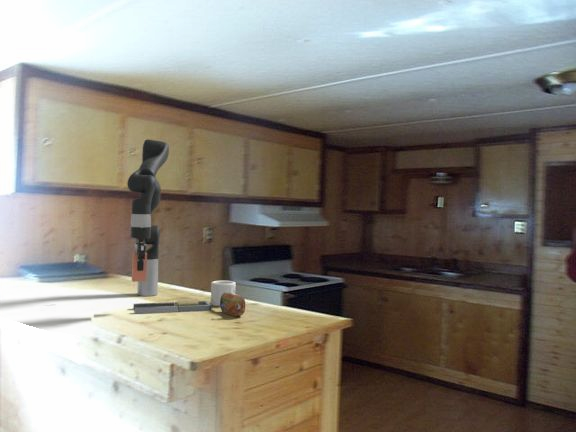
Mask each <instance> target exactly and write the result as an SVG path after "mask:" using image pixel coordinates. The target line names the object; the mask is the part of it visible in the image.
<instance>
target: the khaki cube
mask: <svg viewBox="0 0 576 432" xmlns="http://www.w3.org/2000/svg"><path fill="white" fill-rule="evenodd" d="M186 299H187V298H186ZM187 300H188V301H189V304H188V306H196V305H198V301H199V300H198V299H197V298H188V299H187Z"/></svg>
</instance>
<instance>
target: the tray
mask: <svg viewBox="0 0 576 432" xmlns="http://www.w3.org/2000/svg"><path fill="white" fill-rule="evenodd" d="M174 303H175V306H177V301H175V302H174ZM212 306H213V305H211V302H209V301H207V300H201V301H200V300H198V305H196V306H178V312H177V313H181V312H182V313H184V312H205V311H212V310H213V309H212Z"/></svg>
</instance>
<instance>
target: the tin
mask: <svg viewBox="0 0 576 432" xmlns="http://www.w3.org/2000/svg"><path fill="white" fill-rule="evenodd" d="M220 310H221V312H222V313H223V314H225V315H228V316H232V317H241V316H243V315H244V314H245V311H246V300H245V298H244V297H243V295H241V294H236V293H235V294H232V293H224V294H223V295H222V296H221V299H220Z"/></svg>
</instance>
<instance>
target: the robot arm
mask: <svg viewBox="0 0 576 432" xmlns="http://www.w3.org/2000/svg"><path fill="white" fill-rule="evenodd" d="M169 154H170V147H169V144H168V143H167V142H165V141H161V140H155V139H149V138H147V139H145V140H144V141H143V144H142V155H141V156H142V157H141V158H142V159H141V160H142V162H141V164H140V166H139V168H138V169H137V170H135V171H134V172H132V174H130V175H129V177H128V179H127V182H126V183H127V188H128V190H129V191H130V192H131V193H135V194H137V193H139V198H135V199H133V200H132V202H131V217H130V238H131V239H135V241H136V242H134V252H136V255H137V261H138V262H137V270H138V271H143V266H144V260H145V254H146V253H147V269H146V281H144V282H137V296H141V297H151V296H156V295H158V285H159V254H160V253H159V251H160V250H159V249H160V248H159V247H160V238H161V237H160V236H161V232H160V231H161V229H160V227H159V225H155V224H154V225H152V216H151V214H152V213H153V212H154V211H155V209H157V207H158V206H159V204H160V202H161V196H162V195H161V194H162V187H161V184H160V182H159V181H158V179H157V177H156V176H157V174H158V171H159V170H160V169H161V168H162V167H163V165H165V163H166V162H167V160H168V157H169ZM147 245H151V247H150V248H148V249H147ZM140 255H143V257H140Z"/></svg>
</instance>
